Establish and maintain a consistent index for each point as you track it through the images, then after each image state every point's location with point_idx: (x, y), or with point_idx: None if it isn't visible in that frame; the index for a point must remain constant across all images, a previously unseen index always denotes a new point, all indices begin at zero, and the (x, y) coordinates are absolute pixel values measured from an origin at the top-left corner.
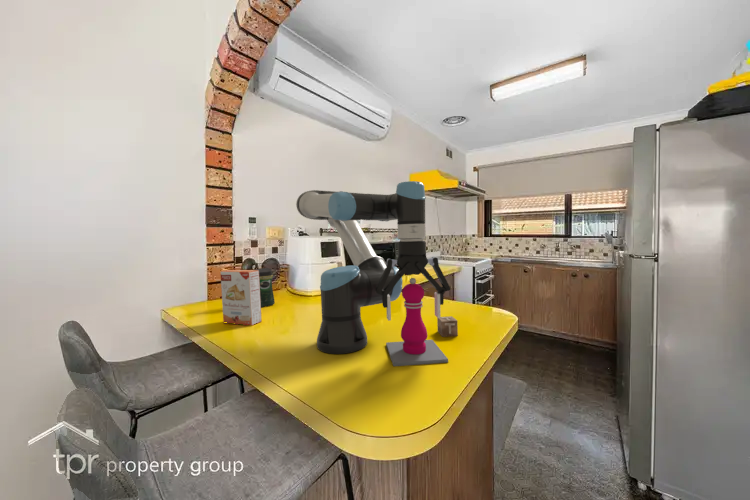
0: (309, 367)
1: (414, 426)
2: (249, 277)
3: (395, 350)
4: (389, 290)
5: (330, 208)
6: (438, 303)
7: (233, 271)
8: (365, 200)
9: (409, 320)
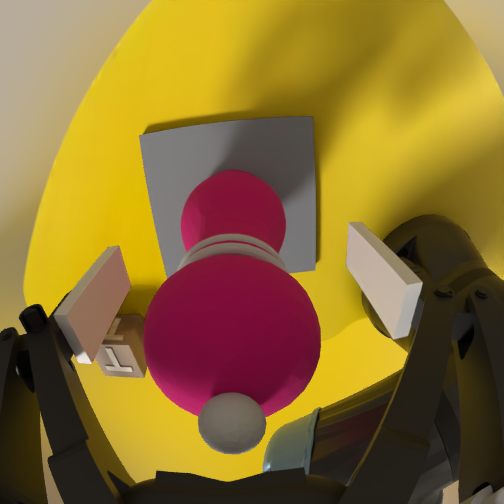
0: (481, 157)
1: None
2: None
3: (295, 207)
4: (430, 312)
5: None
6: (86, 282)
7: None
8: None
9: (258, 221)
